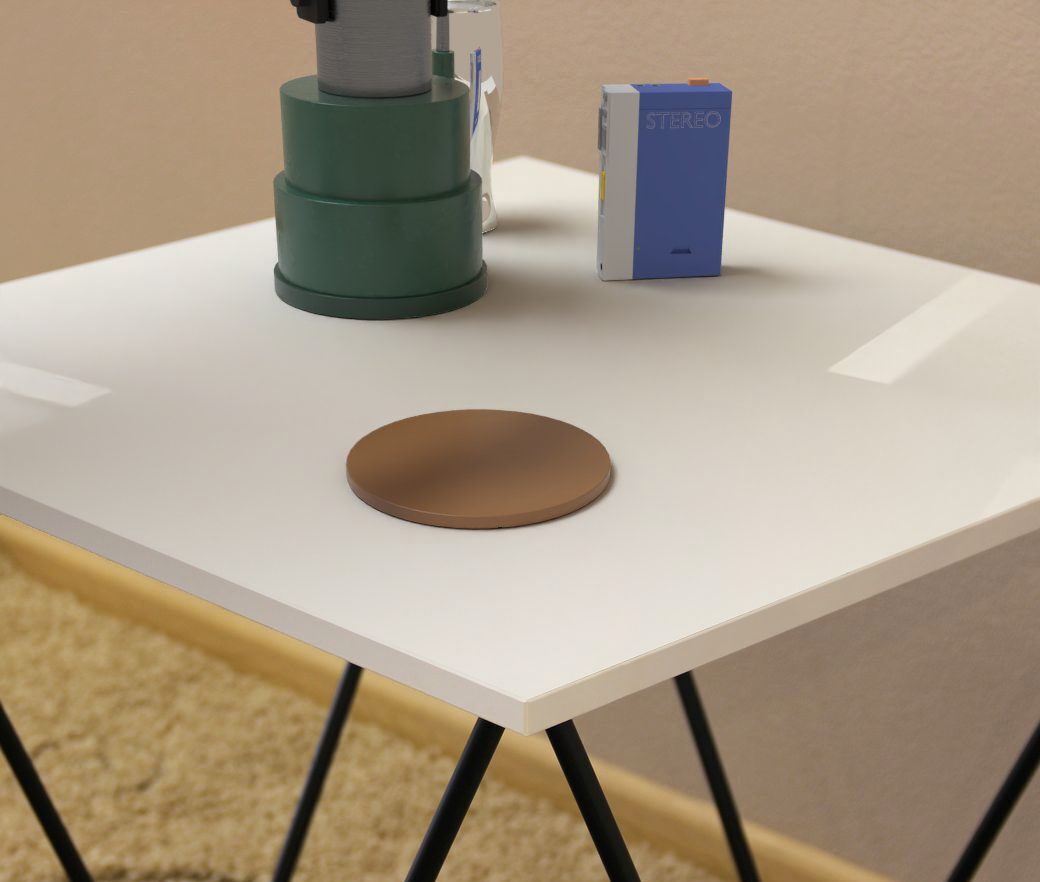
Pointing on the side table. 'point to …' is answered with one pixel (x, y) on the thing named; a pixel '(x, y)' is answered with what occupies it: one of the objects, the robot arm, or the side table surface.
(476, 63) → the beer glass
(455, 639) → the side table surface
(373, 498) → the cork coaster
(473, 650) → the side table surface
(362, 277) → the green tiered cylinder
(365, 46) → the steel cup
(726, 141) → the walkman
